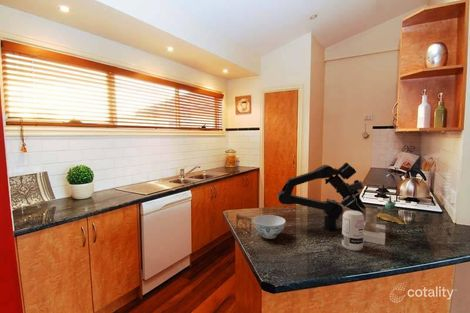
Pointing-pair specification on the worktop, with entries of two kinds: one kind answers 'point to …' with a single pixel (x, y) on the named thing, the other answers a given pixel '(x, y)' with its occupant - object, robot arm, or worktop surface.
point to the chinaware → (269, 225)
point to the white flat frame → (375, 235)
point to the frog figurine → (389, 207)
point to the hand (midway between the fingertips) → (363, 210)
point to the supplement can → (352, 230)
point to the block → (370, 220)
